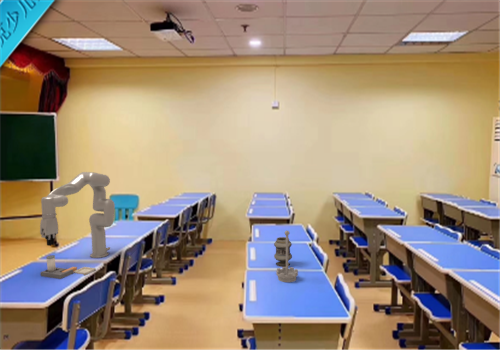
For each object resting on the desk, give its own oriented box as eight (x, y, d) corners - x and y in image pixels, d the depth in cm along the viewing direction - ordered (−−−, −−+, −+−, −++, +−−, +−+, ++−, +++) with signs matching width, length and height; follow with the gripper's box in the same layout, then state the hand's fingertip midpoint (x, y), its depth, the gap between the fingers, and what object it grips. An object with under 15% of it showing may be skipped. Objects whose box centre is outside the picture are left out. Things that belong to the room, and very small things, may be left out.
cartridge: (52, 272, 240) (51, 254, 239) (58, 273, 238) (56, 255, 237) (46, 274, 236) (44, 257, 234) (51, 275, 234) (50, 258, 232)
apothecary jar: (270, 263, 256) (270, 237, 254) (286, 260, 261) (286, 235, 259) (279, 268, 245) (279, 241, 243) (295, 265, 250) (295, 239, 248)
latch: (73, 270, 244) (73, 266, 244) (76, 270, 243) (76, 267, 243) (61, 275, 235) (60, 271, 234) (64, 275, 234) (64, 272, 233)
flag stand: (297, 283, 219) (297, 233, 216) (274, 282, 222) (274, 232, 219) (298, 275, 232) (298, 228, 229) (277, 274, 234) (277, 227, 231)
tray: (84, 269, 247) (84, 266, 247) (95, 270, 244) (95, 268, 244) (73, 273, 239) (73, 271, 238) (85, 275, 235) (84, 273, 235)
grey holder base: (54, 271, 243) (53, 267, 243) (73, 274, 238) (73, 269, 237) (40, 276, 233) (40, 272, 233) (60, 279, 228) (60, 275, 228)
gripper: (54, 213, 242) (56, 241, 244) (33, 218, 227) (35, 247, 229) (63, 214, 240) (65, 242, 241) (42, 219, 225) (44, 249, 227)
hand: (50, 244), depth 235 cm, fingers closed
